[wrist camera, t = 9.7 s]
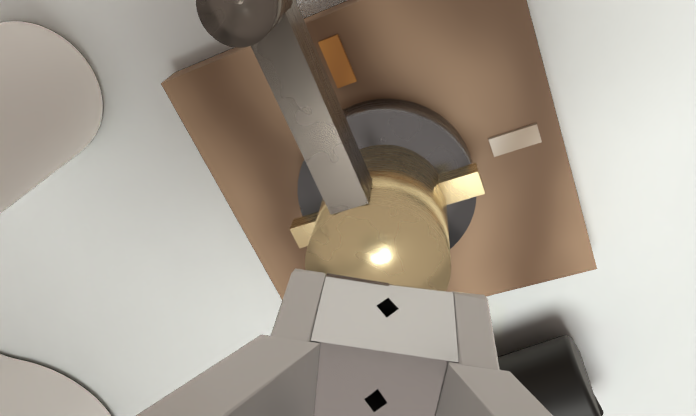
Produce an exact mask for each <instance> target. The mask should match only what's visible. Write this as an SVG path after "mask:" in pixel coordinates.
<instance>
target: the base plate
mask: <svg viewBox="0 0 696 416" xmlns="http://www.w3.org/2000/svg"><path fill="white" fill-rule="evenodd" d="M304 21H305V24H306V26H307V28H308V31H309V33H310V35H311V38H312V40H313V42H314V45H315V47H316V49H317V52H318V54H319V56H320V59H321V61H322V63H323V66H324V68H325V70H326V73H327V75H328V77H329V80H330V82H331V84H332V87H333V89H334V91H335V94H336V96H337V99H338V101H339V103H340V106H341V108H342V110H344V109H345V108H348V107H350V106H352V105H354V104H357V103H361V102H364V101H368V100H374V99H400V100H406V101H410V102H414V103H417V104H420V105H423V106H425V107H427V108H429V109H431V110H433V111H435V112H436V113H438V114H439V115H441V116H442V117H443V118H445V119H446V120H447V121H448V122H449V123H450V124H451V125H452V126H453V127H454V128H455V129H456V130H457V131H458V133H459V134H460V135H461V137H462V139H463V140H464V142H465V144H466V146H467V148H468V150H469V153H470V156H471V160H472V164H473V163H477V166H478V169H479V172H480V175H481V178H482V181H483V185H484V190H485V194H483V195H479V196H476V206H475V211H474V214H473V217H472V220H471V223H470V224H469V226H468V228H467V230H466V232H465V233H464V235H463V236H462V237H461V239H460V240H459V241H458V242H457V243H456V244H455V245H454V246H453V247H452V248H451V249H450V258H451V277H450V282H449V285H448V288H447V290H446V292H453V291H454V292H463V293H472V294H481V295H485V296H490V295H494V294H498V293H502V292H506V291H510V290H514V289H518V288H522V287H526V286H530V285H534V284H538V283H542V282H546V281H550V280H554V279H558V278H562V277H566V276H570V275H574V274H578V273H582V272H586V271H590V270H594V269H597V267H596V263H595V259H594V256H593V252H592V248H591V244H590V240H589V237H588V233H587V229H586V225H585V221H584V217H583V214H582V210H581V206H580V202H579V198H578V195H577V191H576V187H575V183H574V179H573V176H572V172H571V168H570V164H569V160H568V157H567V153H566V149H565V145H564V141H563V138H562V134H561V130H560V126H559V122H558V118H557V115H556V111H555V107H554V103H553V99H552V96H551V92H550V88H549V84H548V80H547V77H546V73H545V69H544V65H543V61H542V58H541V54H540V50H539V46H538V42H537V39H536V35H535V31H534V27H533V23H532V19H531V16H530V12H529V8H528V4H527V0H348V1H345V2H343V3H340V4H338V5H336V6H333V7H331V8H328V9H326V10H324V11H321V12H319V13H316V14H314V15H312V16H309V17H307V18H304ZM161 85H162V86H163V88H164V90H165V92H166V94H167V95H168V97H169V99H170V101H171V103H172V104H173V106H174V108H175V110H176V111H177V113H178V115H179V117H180V119H181V120H182V122H183V124H184V126H185V127H186V129H187V131H188V133H189V135H190V136H191V138H192V140H193V142H194V144H195V145H196V147H197V149H198V151H199V152H200V154H201V156H202V158H203V160H204V161H205V163H206V165H207V167H208V168H209V170H210V172H211V174H212V176H213V177H214V179H215V181H216V183H217V184H218V186H219V188H220V190H221V192H222V193H223V195H224V197H225V199H226V201H227V202H228V204H229V206H230V208H231V209H232V211H233V213H234V215H235V217H236V218H237V220H238V222H239V224H240V225H241V227H242V229H243V231H244V233H245V234H246V236H247V238H248V240H249V242H250V243H251V245H252V247H253V249H254V250H255V252H256V254H257V256H258V258H259V259H260V261H261V263H262V265H263V266H264V268H265V270H266V272H267V274H268V275H269V277H270V279H271V281H272V283H273V284H274V286H275V288H276V290H277V291H278V293H279V295H280V297H281V299H282V300H283V297H284V294H285V291H286V288H287V285H288V282H289V279H290V276H291V273H292V272H293V271H294V270H295V269H302V270H306V269H305V256H306V251H307V247H308V246H306V247H303V248H299V246H298V244H297V242H296V240H295V239H294V237H293V235H292V233H291V231H290V227H291V224H292V222H293V219H296V218H299V217H302V213H301V210H300V206H299V202H298V194H297V190H298V178H299V172H300V169H301V166H302V163H303V161H304V158H303V155H302V153H301V151H300V149H299V147H298V145H297V143H296V141H295V139H294V136H293V134H292V132H291V130H290V128H289V126H288V124H287V122H286V120H285V118H284V115H283V113H282V111H281V109H280V107H279V105H278V103H277V101H276V99H275V97H274V94H273V92H272V90H271V88H270V86H269V84H268V82H267V80H266V78H265V75H264V73H263V71H262V69H261V67H260V65H259V63H258V61H257V59H256V57H255V54H254V52H253V50H252V48H251V46H249V47H242V48H238V47H235V48H232V49H230V50H228V51H225V52H223V53H220V54H218V55H216V56H213V57H211V58H208V59H206V60H204V61H201V62H199V63H196V64H194V65H192V66H189V67H187V68H184V69H182V70H180V71H177V72H175V73H174V74H172V75H171V76H170V77H169V78H167V79H166V80H165V81H163V82H162V83H161Z"/></svg>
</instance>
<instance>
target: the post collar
mask: <svg viewBox="0 0 696 416" xmlns="http://www.w3.org/2000/svg"><path fill="white" fill-rule="evenodd" d="M343 113H344V115H345V117H346V120H347V122H348V124H349V127H350V129H351V131H352V134H353V136H354V138H355V141H356V143H357V145H358V148H359V149H362V148H365V147H369V146H374V145H395V146H400V147H404V148H406V149H409V150H412V151H414V152H416V153H418V154H419V155H421V156H422V157H424V158H425V159H426V160H427V161H429V162H430V163H431V164H432V165H433V167H434V168H435V169H436V170H437V172H438V174H440V173H444V172H447V171H450V170H453V169H456V168H460V167H463V166H466V165H469V164H472V160H471V156H470V153H469V150H468V148H467V146H466V144H465V142H464V140H463V139H462V137H461V135H460V134H459V133H458V131H457V130H456V129H455V128H454V127H453V126H452V125H451V124H450V123H449V122H448V121H447V120H446V119H445V118H443V117H442V116H441V115H439V114H438V113H436V112H435V111H433V110H431V109H429V108H427V107H425V106H423V105H420V104H417V103H414V102H410V101H406V100H400V99H374V100H368V101H364V102H361V103H357V104H354V105H352V106H350V107H348V108H345V109H344V110H343ZM297 194H298V202H299V206H300V210H301V213H302V216H305V215H308V214H312V213H315V212H318V211H319V209H320V206H321V202H322V199H323V197H322V195H321V193H320V191H319V189H318V187H317V185H316V183H315V181H314V179H313V176H312V174H311V172H310V170H309V168H308V166H307V164H306V162H305V160H304V161H303V163H302V166H301V169H300V172H299V178H298V190H297ZM475 206H476V197H472V198H469V199H466V200H462V201H459V202H455V203H452V204H449V205H447V217H448V231H449V244H450V249H451V248H452V247H453V246H454V245H455V244H456V243H457V242H458V241H459V240H460V239H461V237H462V236H463V235H464V233H465V232H466V230H467V228H468V226H469V224H470V223H471V220H472V217H473V214H474V211H475Z"/></svg>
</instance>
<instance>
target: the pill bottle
mask: <svg viewBox="0 0 696 416" xmlns="http://www.w3.org/2000/svg"><path fill="white" fill-rule="evenodd" d="M102 113H103V101H102V94H101V90H100V86H99V83H98V81H97V78H96V76H95V74H94V72H93V70H92V68H91V67H90V65H89V64H88V62H87V61H86V59H85V58H84V57H83V56H82V54H81V53H80V52H79V51H78V50H77V49H76V48H75V47H74V46H73V45H72V44H71V43H69V42H68V41H67V40H66V39H64V38H63V37H61V36H60V35H58V34H57V33H55V32H53V31H51V30H49V29H47V28H45V27H42V26H39V25H36V24H33V23H28V22H21V21H7V22H0V214H1V213H2V212H3V211H4V210H6V209H7V208H8V207H10V206H11V205H12V204H14V203H15V202H16V201H18V200H19V199H20V198H21V197H23V196H24V195H25V194H27V193H28V192H29V191H31V190H32V189H33V188H34V187H36V186H37V185H38V184H40V183H41V182H42V181H44V180H45V179H46V178H48V177H49V176H50V175H51V174H53V173H54V172H55V171H57V170H58V169H59V168H61V167H62V166H63V165H64V164H66V163H67V162H68V161H70V160H71V159H72V158H74V157H75V156H76V155H78V154H79V153H80V152H81V151H83V150H84V149H85V148H86V146H87V145H88V144H89V143H90V142H91V141H92V140H93V138H94V137H95V135H96V133H97V131H98V129H99V127H100V124H101V120H102Z"/></svg>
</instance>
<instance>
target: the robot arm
mask: <svg viewBox="0 0 696 416" xmlns="http://www.w3.org/2000/svg"><path fill="white" fill-rule="evenodd" d="M0 416H111V415H110V413H109V412H108V411H107V409H106V408H105V407H104V406H103V405H102V404H101V403H100V401H99V400H98V399H97V398H95V397H94V396H93V395H92V394H91V393H90V392H89V391H87V390H86V389H85V388H83V387H82V386H81V385H79V384H78V383H76V382H75V381H73V380H71V379H70V378H68V377H66V376H64V375H62V374H60V373H58V372H56V371H54V370H51V369H49V368H46V367H44V366H41V365H38V364H35V363H31V362H27V361H23V360H19V359H14V358H11V357H7V356H4V355H2V354H0ZM136 416H553V415H552V414H551V413H550V412H549V411H548V410H547V409H546V408H545V407H544V406H543V405H542V404H541V403H540V402H539V401H538V400H537V399H536V398H535V397H534V396H533V395H532V394H531V393H530V392H529V391H528V390H527V389H526V388H525V387H524V386H523V385H522V384H521V382H520V381H519V380H518V379H517V378H516V377H515V376H514V375H513V374H512V373H511V372H510V371H504V370H500V369H499V363H498V357H497V351H496V345H495V340H494V334H493V328H492V322H491V316H490V310H489V304H488V299H487V298H486V296H485V295H481V294H472V293H463V292H454V291H453V292H446V291H439V290H431V289H424V288H416V287H409V286H401V285H394V284H389V283H385V282H378V281H372V280H366V279H360V278H354V277H348V276H342V275H336V274H330V273H327V275H326V274H325V273H323V272H316V271H309V270H302V269H295V270H294V271H293V272H292V273H291V276H290V279H289V282H288V285H287V288H286V291H285V294H284V297H283V300H282V303H281V306H280V309H279V312H278V315H277V318H276V321H275V324H274V327H273V330H272V333H271V336H268V335H260V336H258V337H257V338H255V339H253V340H252V341H250V342H249V343H247V344H246V345H244V346H243V347H241V348H240V349H238V350H236V351H235V352H233V353H232V354H230V355H229V356H227V357H226V358H224V359H223V360H221V361H219V362H218V363H216V364H215V365H213V366H212V367H210V368H209V369H207V370H206V371H204V372H202V373H201V374H199V375H198V376H196V377H195V378H193V379H192V380H190V381H189V382H187V383H185V384H184V385H182V386H181V387H179V388H178V389H176V390H175V391H173V392H172V393H170V394H168V395H167V396H165V397H164V398H162V399H161V400H159V401H158V402H156V403H155V404H153V405H151V406H150V407H148V408H147V409H145V410H144V411H142V412H141V413H139V414H138V415H136Z"/></svg>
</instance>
